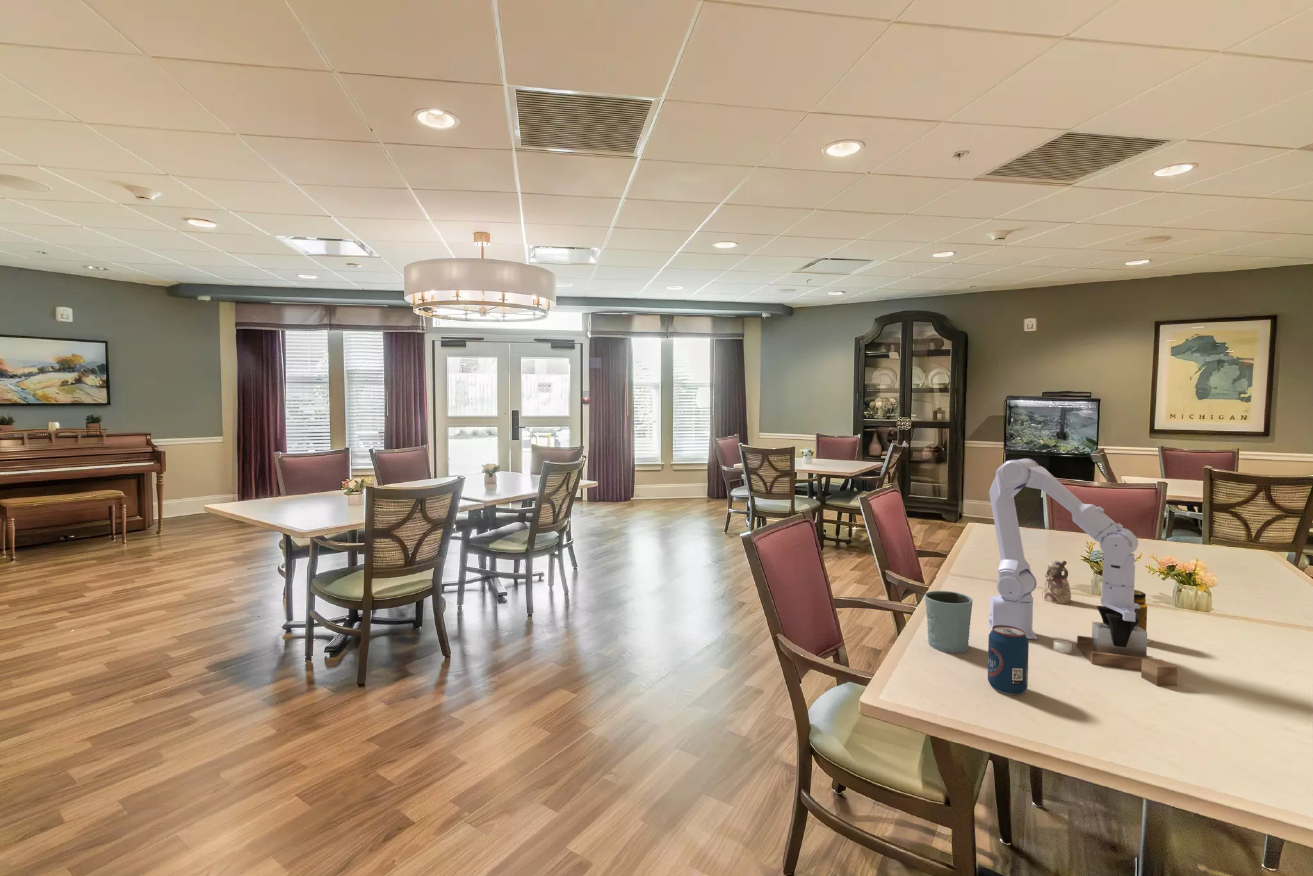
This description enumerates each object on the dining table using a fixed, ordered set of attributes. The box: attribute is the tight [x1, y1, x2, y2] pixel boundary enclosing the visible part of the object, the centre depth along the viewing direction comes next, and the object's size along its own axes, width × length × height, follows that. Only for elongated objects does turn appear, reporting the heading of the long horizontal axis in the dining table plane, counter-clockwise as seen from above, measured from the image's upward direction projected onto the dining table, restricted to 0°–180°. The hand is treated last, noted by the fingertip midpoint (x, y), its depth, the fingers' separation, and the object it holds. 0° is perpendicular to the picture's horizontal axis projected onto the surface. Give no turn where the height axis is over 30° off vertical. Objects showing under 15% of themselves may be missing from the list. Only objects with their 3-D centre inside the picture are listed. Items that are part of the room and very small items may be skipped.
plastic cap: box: [1052, 639, 1073, 655], centre depth 139 cm, size 4×4×2 cm
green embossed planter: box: [924, 590, 974, 654], centre depth 141 cm, size 10×10×12 cm
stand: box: [1076, 635, 1154, 671], centre depth 134 cm, size 12×11×2 cm
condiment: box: [1134, 589, 1153, 645], centre depth 145 cm, size 7×8×12 cm
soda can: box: [987, 625, 1029, 696], centre depth 119 cm, size 7×7×12 cm
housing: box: [1091, 621, 1148, 657], centre depth 134 cm, size 4×9×6 cm, turn 69°
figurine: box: [1041, 560, 1072, 605], centre depth 176 cm, size 7×7×12 cm
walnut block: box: [1140, 658, 1178, 687], centre depth 122 cm, size 4×4×4 cm
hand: (1116, 642), depth 134 cm, fingers closed on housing, 4 cm apart
